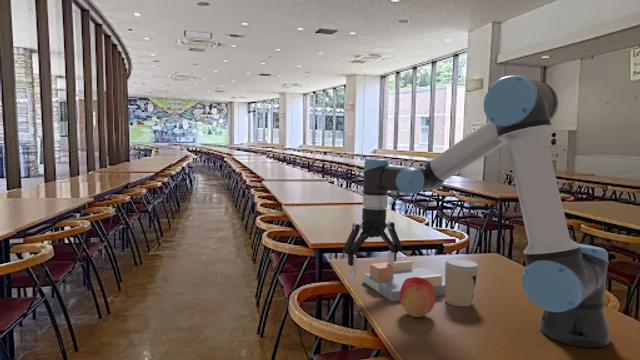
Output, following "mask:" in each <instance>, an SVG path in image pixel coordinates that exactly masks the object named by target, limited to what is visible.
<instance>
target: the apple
mask: <svg viewBox="0 0 640 360" xmlns="http://www.w3.org/2000/svg"><path fill="white" fill-rule="evenodd" d="M435 303H436V296H435V290H434V287H433V285H432V284H431V283H430V282H429V281H427V280H426V279H424V278H420V277H411V278H407V279H406V280H405V281H404V282H403V284H402V287H401V290H400V305H401V307H402V308H403V310H404V312H406V314H408V315H409V316H410V317H413V318H420V317H424V316H425V315H427V314H429V313H430V312H432V310H433V308H434V306H435Z"/></svg>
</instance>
